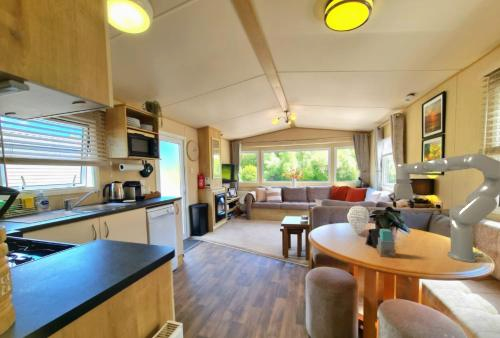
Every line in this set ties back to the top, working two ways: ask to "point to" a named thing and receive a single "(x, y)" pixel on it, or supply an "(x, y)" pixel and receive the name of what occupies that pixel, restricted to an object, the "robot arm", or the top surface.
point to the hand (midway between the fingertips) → (403, 207)
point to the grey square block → (386, 252)
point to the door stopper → (373, 238)
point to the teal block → (385, 235)
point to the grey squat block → (386, 244)
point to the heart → (358, 231)
